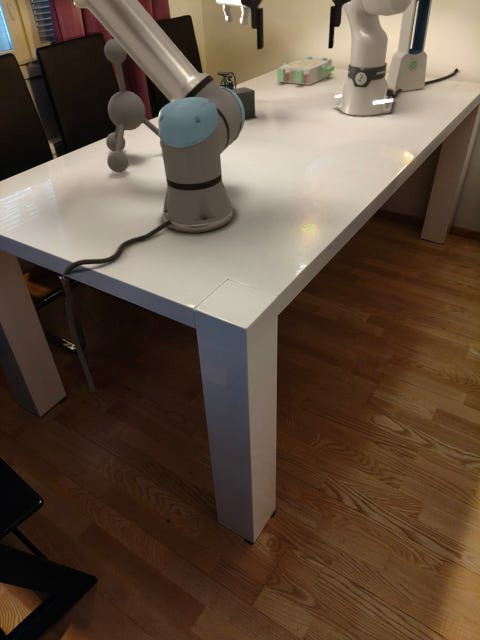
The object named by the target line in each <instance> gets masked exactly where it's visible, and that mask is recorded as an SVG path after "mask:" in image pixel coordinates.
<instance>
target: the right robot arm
mask: <svg viewBox="0 0 480 640" xmlns="http://www.w3.org/2000/svg"><path fill="white" fill-rule="evenodd" d="M411 1H412V0H351V1H350V2H348V3H345V4H344V5H343V6H342V10H344V12H345V14H346V17H347V20H348V24H349V28H350V39H351V42H350V43H351V45H350V60H349V64H348V68H347V77H348V78H347V79H346V80H345V81H344V82H343V83H342V89H341V94H337V95H334V98H335V99H336V98H340V103H338V104H336V106H335V109H336V110H339V111H341V112H342V113H343V114H346V115H351V116H360V117H362V116H363V117H365V116H366V117H367V116H377V115H381V114H390V113H391V112H392V108H393V104H394V99H395V98H396V97H397V95H398V94H399V93H400V92H403V91H402V89H399V90H397V91H394V90H392V89H389V88H388V84H387V78H386V75H387V66H388V62H386V60H387V59H386V58H387V52H388V41H389V38H388V34H387V32H386V31H385V30H384V29H383V28H382V25H381V22H380V16H384V17H390V16H396V15H399V14H403V12H404V11H405V10H406V9H407V8H408V7H409V5H410V3H411ZM215 3H216V4H217V5H222V11H223V14H224V19H225V23H232V22H233V14H232V13H231V8H232V7H238V8H240V12H241V17H239V23H240V25H242V26H246V25H248V22H249V20H248V18H249V14H250V12H251V10H250V8H249V7H247V6H245V5H242V4H241V0H215ZM457 68H458V67H456V68H455V69H454V71H453V72H451V73H450V74H448V75H446V76H443V77H439V78H435V79H432V80H427V81H425V85H429V84H432V83H436V82H441V81H444V80H446V79H448V78H451V77H452V76H454V75H455V74H456V73H457V72H459V68H458V69H457Z"/></svg>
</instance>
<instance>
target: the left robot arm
mask: <svg viewBox="0 0 480 640" xmlns="http://www.w3.org/2000/svg"><path fill="white" fill-rule="evenodd" d="M70 1H71V2H72V4H73V5H74V6H75V7H77V8H79V9H88V11H90V13H91V14H92V15H93V16H94V17H95V18H96V19H97V21H98V22H99V23H100V25H102V26H103V27H104V29H105V30H106V31H107V32H108V33H109V34H110V35H111V36H112V38H113V39H115V40H116V41H117V42H118V43H119V44H120V45H121V46H122V48H123V49H124V50H125V51H126V52H127V55H128V56H129V57H130V59H132V60H133V62H134V63H135V64H136V65H137V66H138V67H139V68H140V69H141V71H142V72H143V73H144V74H145V75H146V76H147V78H148V79H150V81H151V82H152V83H153V84H154V85H155V86H156V87H157V89H158V90H159V91H160V92H161V94H162V95H164V97H165V98H166V99H167V100H168V101H169V102H168V103H167V104H165V105H164V106H163V107H162V108H161V109H160V110H159V113H158V117H157V123H158V127H157V129H158V132H159V137H158V138H159V142H160V141H161V146H160V148H161V154H162V159H163V168H164V174H165V180H166V190H165V191H166V192H165V196H164V203H163V207H162V218H163V223H162V224H160V225H158V226H157V227H155V228H153V230H151V231H149V232H147V233H145V234H142V235H139V236H136V237H132V238H130V239H127V240H125V241H123V242H122V243H121V244H120V245H118V247H117V249H116V251H115V252H114V253H113V254H111V255H110V256H107V257H104V258H88V259H86V258H85V259H80V260H76V261H73V262H72V263H70V264H69V265H68V266H67V267H66V268H65V270H64V271H63V273H62V275H63V276H68V275H69V274H70V273H71V272H72V271H73V270H74V269H76V268H78V267H81V266H85V265H86V266H87V265H102V264H107V263H111V262H113V261H115V260H117V259H118V258H119V257H120V256H121V255H122V253H123V251H124V249H126V248H127V247H128V246H129V245H132V244H134V243H138V242H142V241H144V240H147V239H149V238H152V237H153V236H154V235H155V236H156V234H157V233H160V231H163V230H164V229H166V228H169V229H171V230H173V231H177V232H180V233H190V234H191V233H192V234H193V233H194V234H195V233H196V234H197V233H205V232H206V233H207V232H210V231H215V230H216V229H220V228H222V227H224V226H226V225H227V224H228V223H230V221H231V220H232V218H233V216H234V212H233V211H234V210H233V204H232V201H231V200H230V197H229V195H228V192H227V190H226V187H225V184H224V182H223V175H222V174H223V173H222V161H221V154H222V153H223V152H224V151H225V150H226V149H227V148H228V147H229V146H230V145H233V143H234V142H235V141H236V140H237V139H238V137H239V136H240V134H241V132H242V131H243V128H244V127H245V126H244V125H245V121H246V120H245V112H244V107H243V104H242V102H241V100H240V98H239V97H238V96H237V95H236V94H235V93H234V92H233V91H232V90H230V89H228V88H225V87H220V84H218V83H217V82H216V80H215V79H214V78H213V76H212V75H211V74H210V73H203V72H199V71H198V70H197V69H196V68H195V66H193V64H192V63H191V62H190V60H188V58H187V57H186V56H185V55H184V54H183V52H182V51H181V50H180V49H179V48H178V47H177V45H176V44H175V43H174V42H173V40H172V39H171V38H170V37H169V35H167V34H166V32H165V31H164V30H163V29H162V28H161V26H160V25H159V24H158V23H157V21H156V20H155V19H154V18H153V17H152V16H151V14H150V13H149V12H148V11H147V10H146V9H145V7H144V6H143V5H142V4H141V2H139V0H70ZM331 1H332V3H333V4H334V5H331V6H330V12H329V26H328V28H329V29H328V45H327V49H329V50H330V49H333V48H334V44H335V43H334V42H335V29H336V28H340V25H341V24H342V14H343V7H342V6H343V5H344V4H345V3H348V2H350V1H351V0H331ZM262 2H263V0H241V4H242V5H245V6H247V7H249V8H250V24H251V25H250V26H251V29H252V30H256V50H262V49H263V48H264V45H265V44H264V43H265V41H264V37H265V36H264V7H260V5H261V3H262ZM64 304H65V310H66V316H67V317H66V318H67V322H68V326H69V330H70V335H71V337H72V341H73V343H74V346H75V350H76V352H77V356H78V357H79V360H80V364H81V367H82V368H83V371H84V374H85V378H86V380H87V383H88V386H89V390H90V392H91V393H95V392H96V388H95V385H94V380H93V378H92V375H91V373H90V369H89V366H88V364H87V361H86V358H85V355H84V353H83V349H82V347H81V344H80V341H79V337H78V334H77V331H76V327H75V322H74V315H73V310H72V303H71V298H69V297H65V296H64Z"/></svg>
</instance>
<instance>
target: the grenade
mask: <svg viewBox="0 0 480 640" xmlns="http://www.w3.org/2000/svg"><path fill="white" fill-rule="evenodd" d="M216 75H217V76H219V77H221V78H222V79H221V80H220V82H219V86H220V87H225V88H228V89H230V90H232V89H237V77H236V76H235V74H234V71H233V70H231V71H226V70H225V71H224V70H223V71H218V72H217V73H216ZM233 81H234V82H233Z"/></svg>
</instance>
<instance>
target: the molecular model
mask: <svg viewBox="0 0 480 640" xmlns="http://www.w3.org/2000/svg"><path fill="white" fill-rule="evenodd" d="M103 51H104V55H105V57H106V59H107V60H108V61H109V62H110V63H112V64H114V65H115V71H116V77H117V82H118V87H119V91H118V92H115V93H114V94H113V95H112V96H111V98H110V99H109V101H108V105H107V112H108V117H109V119H110V121H111V122H112V123H113V125H115V131H114V132H111V133H109V134H108V135H107V137H106V140H105V144H106V147H107V148H108V149H109V150H110V153H109V154H108V156H107V159H106V160H107V166H108V168H109V169H110V170H111V172H114V173H117V174H121V173H123V172H126V171H127V169H128V167H129V163H130V161H129V158H128V155H126V153H124V152H123V150H124V149H125V147H126V140H125V139H126V138H124V136H125V131H133V130H136V129H138V128H139V127H140V126H142V124H143V125H145V126H146V127H147V128H148V129H149V130H150V131H152V132H153V133H154V134H155V135H156V136H157V137H158V138H160V137H159V132H158V127H157V126H156V125H154V124H153V123H152V122H151V121H150V120H149V119H148V118H147V117H146V106H145V104H144V102H143V100H142V98H141V97H140V96H139V95H138V94H136V93H135V92H132V91H130V90H127V89H126V84H125V77H124V73H123V67H122V63H123V62H125V60H126V59H127V56H128V53H127V52H126V51H125V50H124V49H123V48H122V46H121V45H120V44H119V43H118V42H117V41H116V40H115V39H114V38H111V39H109V40H107V42H106V43H105V45H104V48H103ZM159 146H160V147H161V141H160V140H159Z"/></svg>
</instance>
